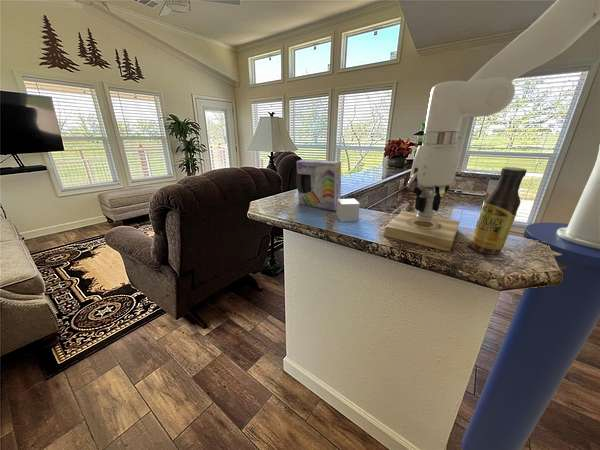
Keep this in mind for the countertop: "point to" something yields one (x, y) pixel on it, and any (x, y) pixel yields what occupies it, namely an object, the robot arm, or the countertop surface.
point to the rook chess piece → (427, 207)
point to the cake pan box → (319, 183)
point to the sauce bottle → (498, 212)
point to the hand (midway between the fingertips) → (426, 209)
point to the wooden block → (423, 230)
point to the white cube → (348, 209)
